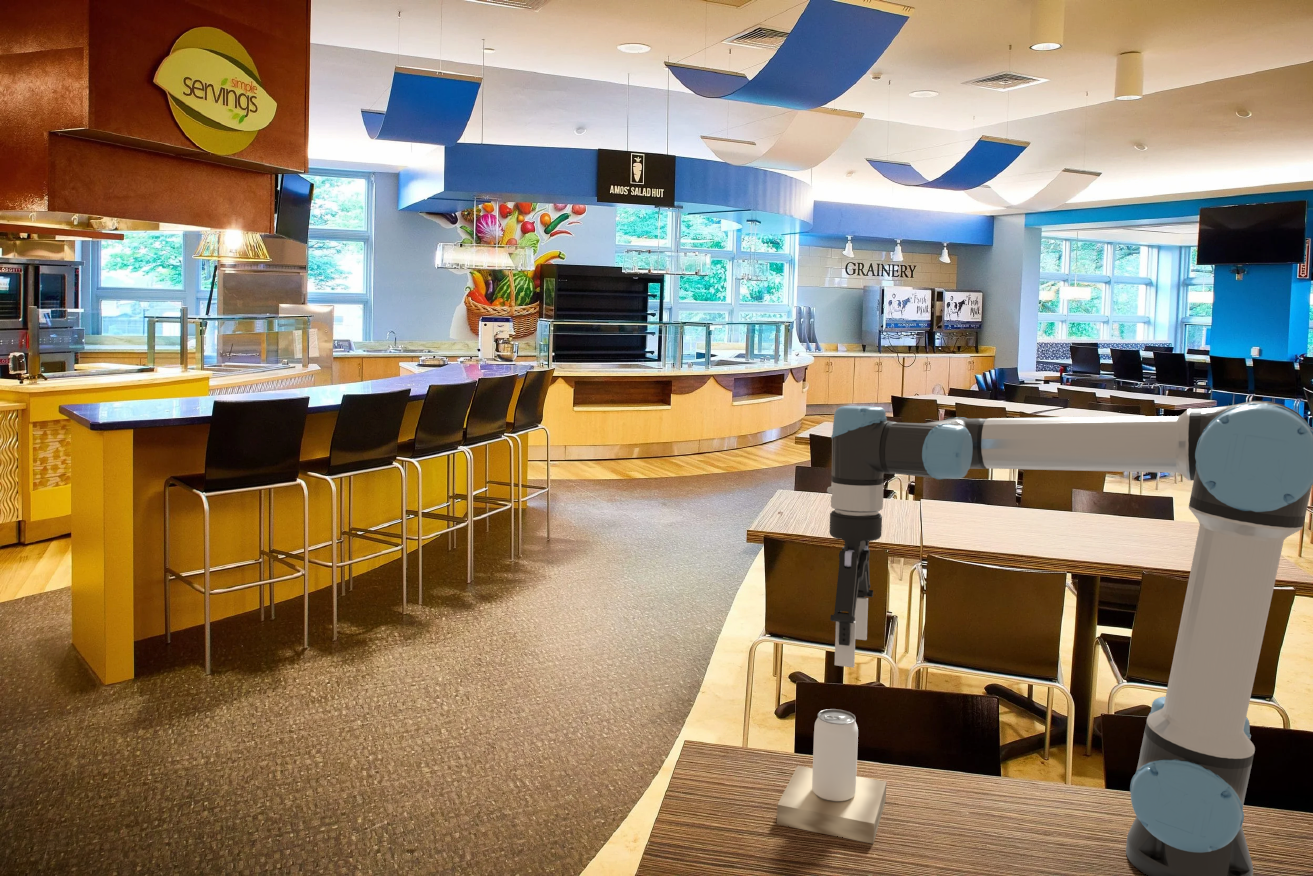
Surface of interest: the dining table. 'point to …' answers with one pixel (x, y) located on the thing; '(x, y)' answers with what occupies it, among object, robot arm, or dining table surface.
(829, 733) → the can
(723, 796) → the dining table surface
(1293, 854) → the dining table surface
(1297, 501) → the robot arm
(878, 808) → the riser
